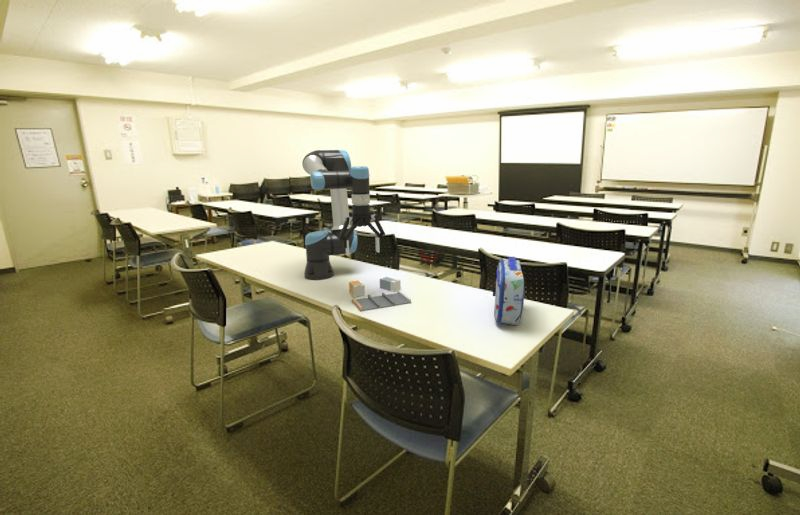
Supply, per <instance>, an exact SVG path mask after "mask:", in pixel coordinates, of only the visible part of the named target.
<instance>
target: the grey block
mask: <svg viewBox="0 0 800 515" xmlns="http://www.w3.org/2000/svg"><path fill="white" fill-rule="evenodd" d="M379 289H382V290H385V291H387V292H388V291H389V292H392V293H395V292H396V293H397V290H399V291H401V289H402V287H401V279H398V278H392V277H388V276H385V277H382V278H379Z"/></svg>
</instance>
